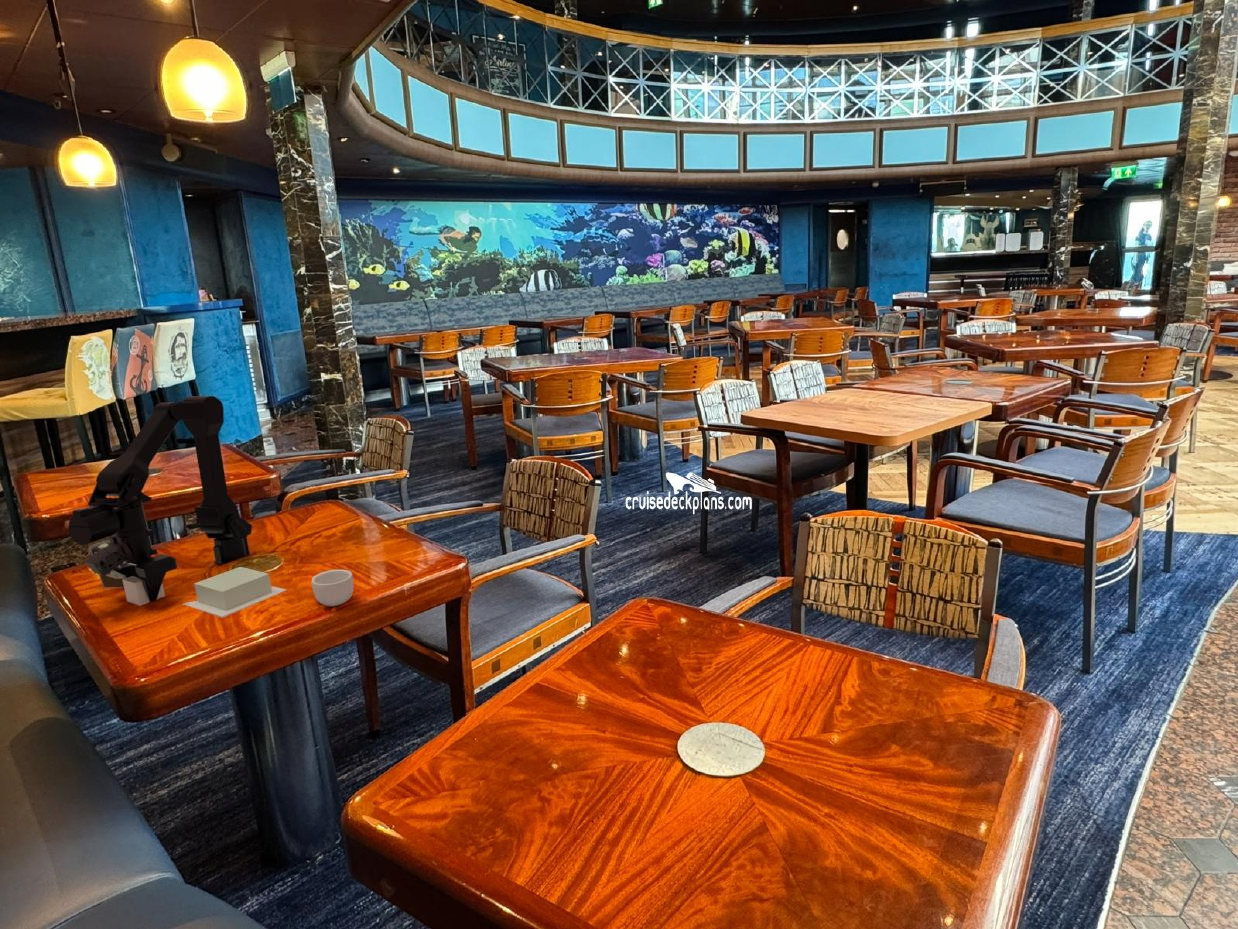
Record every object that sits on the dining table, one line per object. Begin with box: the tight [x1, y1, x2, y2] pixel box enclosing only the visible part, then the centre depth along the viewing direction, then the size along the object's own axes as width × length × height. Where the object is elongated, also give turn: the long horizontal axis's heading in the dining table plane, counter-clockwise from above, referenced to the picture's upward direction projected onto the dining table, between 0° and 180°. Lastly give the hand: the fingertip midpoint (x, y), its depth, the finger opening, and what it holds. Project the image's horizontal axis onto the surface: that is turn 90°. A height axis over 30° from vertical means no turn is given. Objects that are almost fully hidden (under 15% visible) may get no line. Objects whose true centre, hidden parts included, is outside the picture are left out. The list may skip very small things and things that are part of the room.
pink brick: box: [122, 576, 166, 607], centre depth 153 cm, size 5×5×6 cm
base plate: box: [183, 585, 287, 619], centre depth 152 cm, size 14×14×1 cm
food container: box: [88, 539, 125, 589], centre depth 164 cm, size 12×6×10 cm, turn 84°
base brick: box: [193, 566, 272, 611], centre depth 151 cm, size 10×10×4 cm
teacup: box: [311, 569, 354, 607], centre depth 149 cm, size 10×8×5 cm
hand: (146, 599), depth 153 cm, fingers closed on pink brick, 5 cm apart
